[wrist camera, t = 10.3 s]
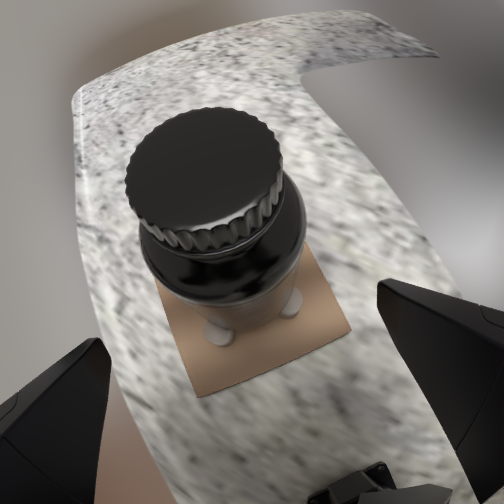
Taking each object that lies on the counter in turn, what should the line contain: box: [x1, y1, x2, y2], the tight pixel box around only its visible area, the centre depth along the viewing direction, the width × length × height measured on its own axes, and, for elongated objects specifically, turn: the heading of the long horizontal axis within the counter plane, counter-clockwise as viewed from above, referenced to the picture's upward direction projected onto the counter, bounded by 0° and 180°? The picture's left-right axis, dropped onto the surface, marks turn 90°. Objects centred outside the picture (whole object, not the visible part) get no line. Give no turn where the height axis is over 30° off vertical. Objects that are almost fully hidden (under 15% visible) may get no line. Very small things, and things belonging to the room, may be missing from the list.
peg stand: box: [154, 242, 352, 398], centre depth 21 cm, size 12×12×4 cm
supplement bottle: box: [124, 107, 307, 331], centre depth 14 cm, size 7×7×12 cm
